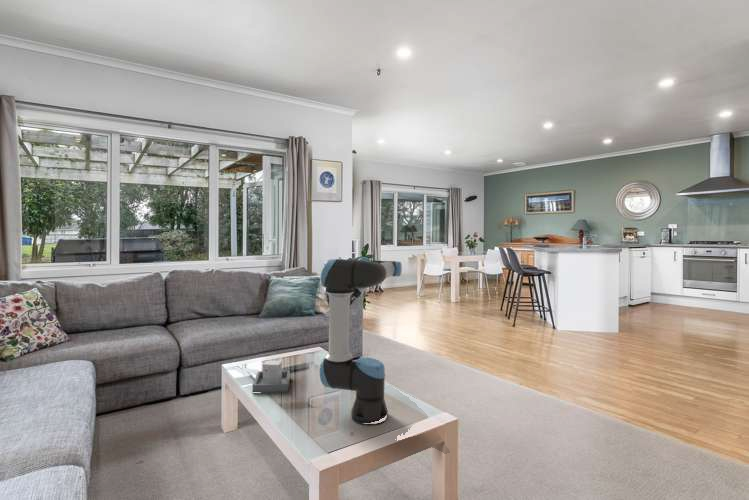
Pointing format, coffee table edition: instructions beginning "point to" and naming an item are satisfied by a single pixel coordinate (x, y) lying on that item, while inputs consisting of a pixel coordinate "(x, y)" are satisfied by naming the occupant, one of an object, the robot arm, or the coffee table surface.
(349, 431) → the coffee table surface
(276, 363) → the small box
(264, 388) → the tray
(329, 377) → the robot arm
